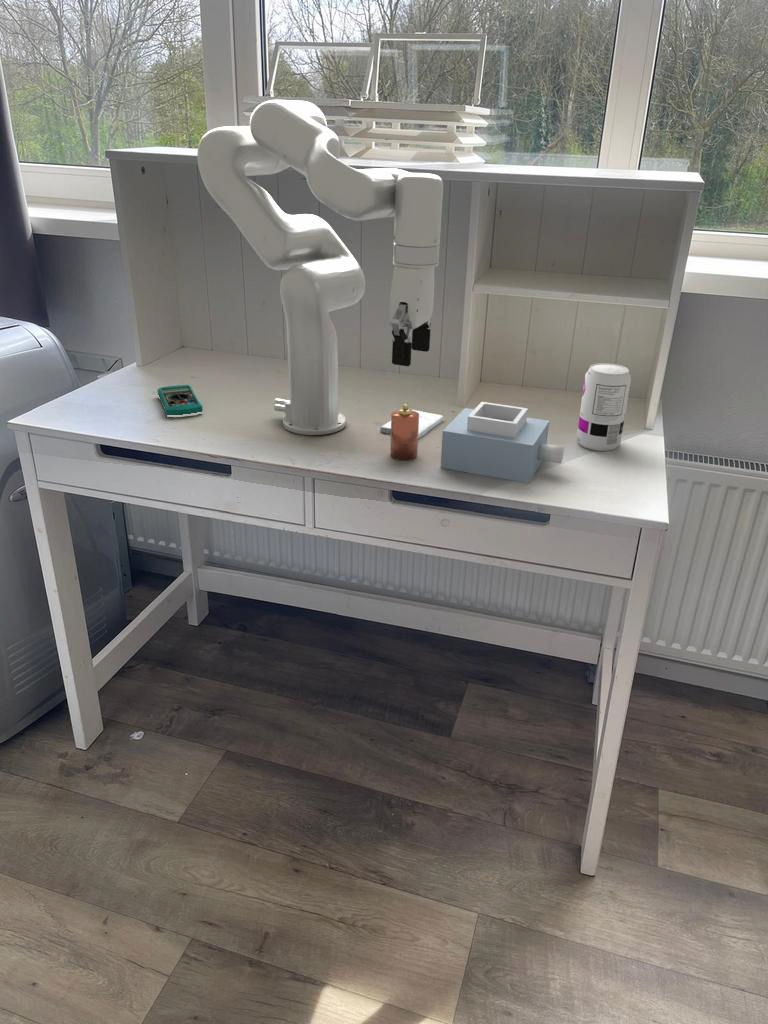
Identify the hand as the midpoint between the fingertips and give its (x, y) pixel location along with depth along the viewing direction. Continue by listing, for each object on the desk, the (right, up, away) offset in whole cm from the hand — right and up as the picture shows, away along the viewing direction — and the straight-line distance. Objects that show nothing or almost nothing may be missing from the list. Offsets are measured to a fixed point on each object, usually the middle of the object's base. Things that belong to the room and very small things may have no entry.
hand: (411, 357), depth 136 cm
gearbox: (+17, -18, +6) cm, 26 cm away
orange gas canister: (-1, -16, +8) cm, 18 cm away
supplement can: (+37, -14, +15) cm, 42 cm away
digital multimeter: (-48, -5, +30) cm, 57 cm away
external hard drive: (+1, -10, +22) cm, 24 cm away
